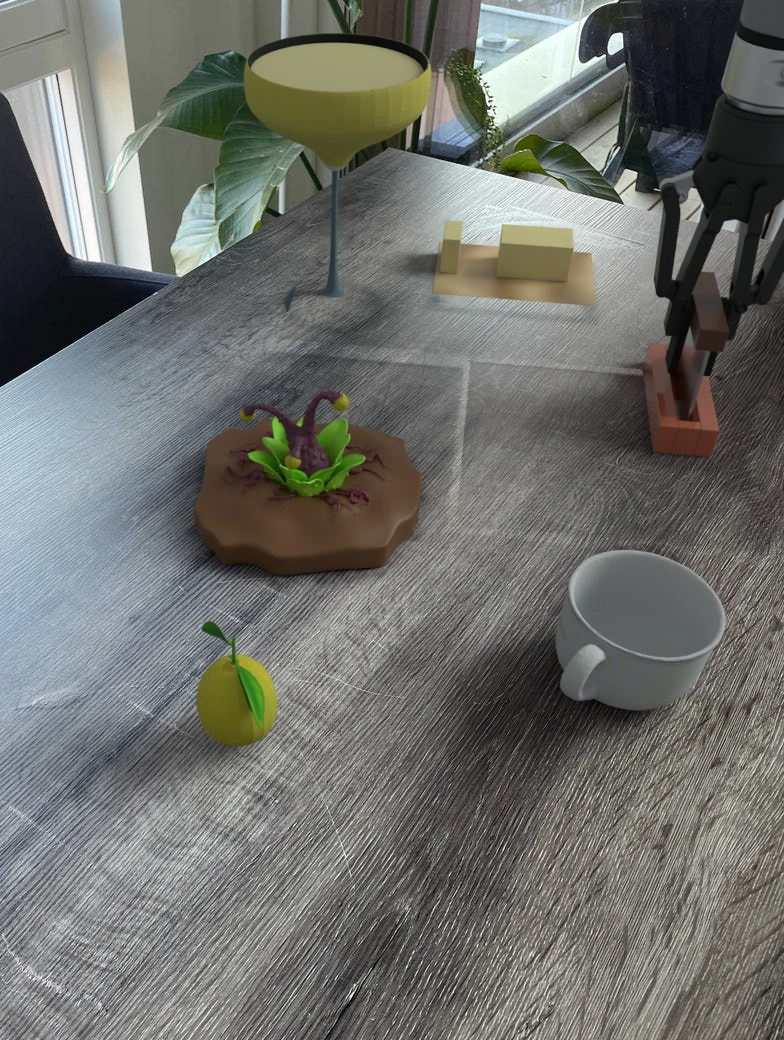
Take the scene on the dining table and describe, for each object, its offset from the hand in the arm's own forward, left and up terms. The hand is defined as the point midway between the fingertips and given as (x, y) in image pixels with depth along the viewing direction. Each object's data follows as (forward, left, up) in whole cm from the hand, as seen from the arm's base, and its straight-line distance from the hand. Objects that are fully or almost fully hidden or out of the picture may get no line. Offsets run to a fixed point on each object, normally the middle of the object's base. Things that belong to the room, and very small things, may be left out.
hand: (687, 366), depth 97 cm
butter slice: (+23, -26, -4) cm, 35 cm away
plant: (+33, +19, -6) cm, 39 cm away
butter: (+14, -26, -4) cm, 30 cm away
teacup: (+8, +37, -6) cm, 38 cm away
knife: (0, 0, -4) cm, 4 cm away
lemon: (+34, +46, -6) cm, 57 cm away
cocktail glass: (+36, -17, -6) cm, 40 cm away
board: (+16, -25, -6) cm, 30 cm away
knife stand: (0, 0, -6) cm, 6 cm away
